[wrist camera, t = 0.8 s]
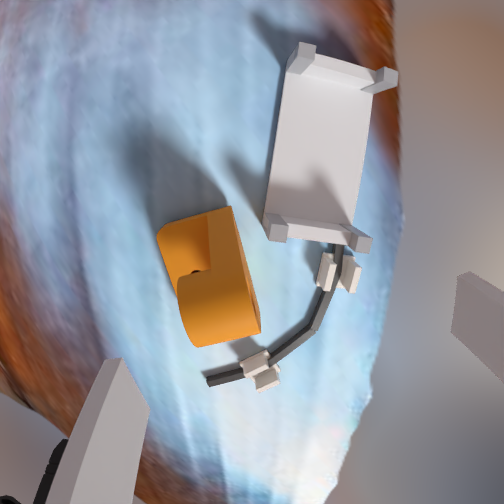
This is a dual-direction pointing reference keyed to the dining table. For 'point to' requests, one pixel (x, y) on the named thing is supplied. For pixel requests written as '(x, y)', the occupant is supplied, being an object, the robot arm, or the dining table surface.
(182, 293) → the bracket
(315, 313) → the cable route
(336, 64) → the holder
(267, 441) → the dining table surface
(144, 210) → the dining table surface
